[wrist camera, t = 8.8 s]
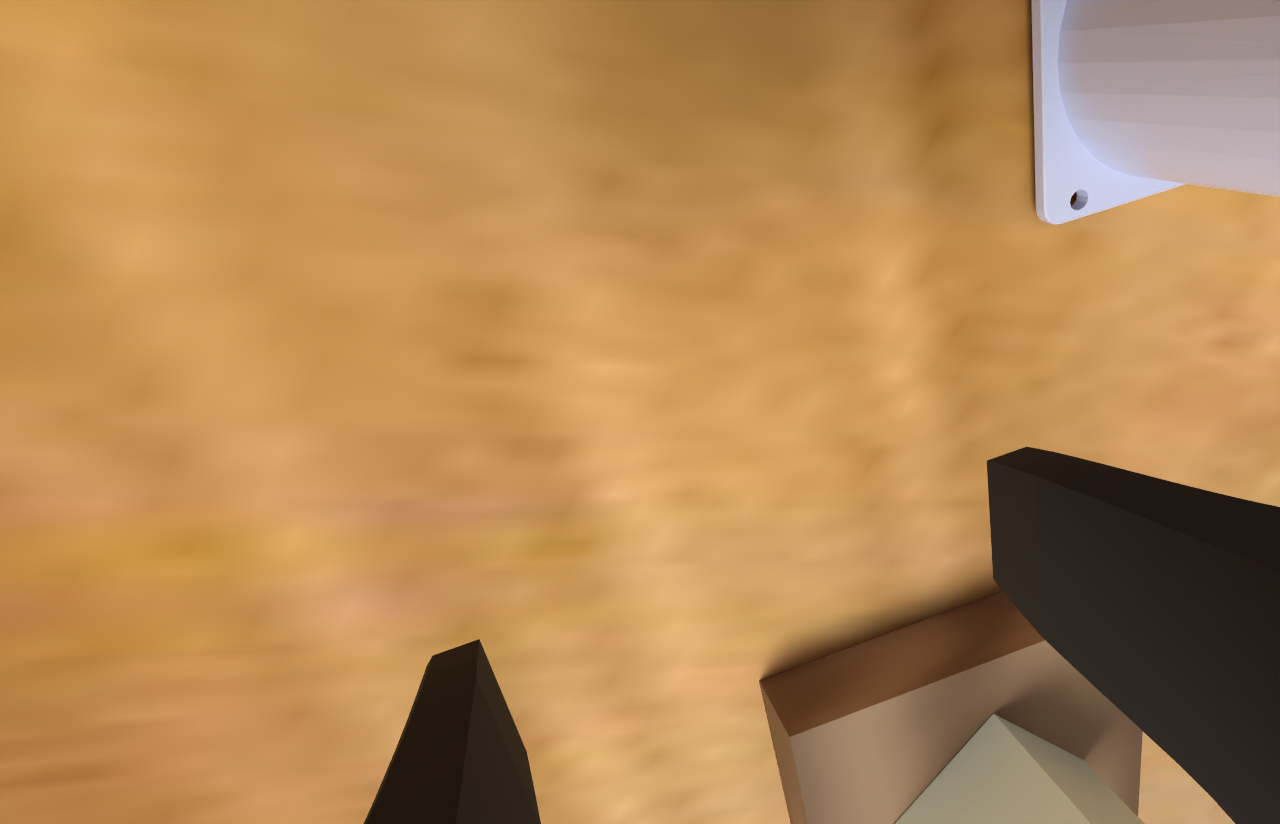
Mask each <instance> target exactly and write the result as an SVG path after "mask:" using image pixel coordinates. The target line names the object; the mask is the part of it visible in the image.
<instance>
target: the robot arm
mask: <svg viewBox="0 0 1280 824" xmlns="http://www.w3.org/2000/svg"><path fill="white" fill-rule="evenodd" d="M1032 46H1033V93H1034V139H1035V186H1036V211H1037V216H1038V217H1039V218H1040V219H1041V220H1042V221H1044V222H1047V223H1051V224H1062V223H1065V222H1068V221H1071V220H1075V219H1078V218H1081V217H1084V216H1087V215H1090V214H1094V213H1097V212H1100V211H1103V210H1106V209H1109V208H1112V207H1116V206H1119V205H1122V204H1125V203H1128V202H1131V201H1135V200H1138V199H1141V198H1144V197H1147V196H1150V195H1154V194H1157V193H1160V192H1163V191H1166V190H1169V189H1172V188H1176V187H1179V186H1182V185H1185V184H1192V185H1199V186H1206V187H1214V188H1221V189H1228V190H1235V191H1242V192H1249V193H1256V194H1263V195H1270V196H1277V197H1280V0H1032ZM1075 192H1077V198H1076V201H1075V203H1074V204H1073V205H1072V206H1071V205H1070V201H1071V197H1072V196H1073V194H1074V193H1075ZM987 472H988V490H989V508H990V526H991V544H992V562H993V579H994V580H995V581H996V582H997V584H998V585H999V586H1000V587H1001V589H1002V590H1003V591H1004V592H1005V594H1006V595H1007V596H1008V597H1009V599H1010V600H1011V601H1012V602H1013V604H1014V605H1015V606H1016V607H1017V609H1018V610H1019V611H1020V612H1021V613H1022V615H1023V616H1024V617H1025V618H1026V619H1027V620H1028V622H1029V623H1030V624H1031V625H1032V626H1033V627H1034V628H1035V630H1036V631H1037V632H1038V633H1039V634H1040V635H1041V637H1042V638H1044V639H1045V640H1046V641H1047V642H1048V643H1049V644H1050V645H1051V646H1052V647H1053V648H1054V649H1055V650H1056V651H1057V652H1058V653H1059V654H1060V655H1061V656H1062V657H1063V658H1064V659H1066V660H1067V661H1068V662H1069V663H1070V664H1071V665H1072V666H1073V667H1074V668H1075V669H1076V670H1077V671H1078V672H1079V673H1080V674H1082V675H1083V676H1084V677H1085V678H1086V679H1087V680H1088V681H1089V682H1090V683H1091V684H1092V685H1093V686H1094V687H1095V688H1097V689H1098V690H1099V691H1100V692H1101V693H1102V694H1103V695H1104V696H1105V697H1106V698H1107V699H1109V700H1110V701H1111V702H1112V703H1113V704H1114V705H1115V706H1116V707H1117V708H1118V709H1119V710H1120V711H1122V712H1123V713H1124V714H1125V715H1126V716H1127V717H1128V718H1129V719H1130V720H1131V721H1132V722H1133V723H1135V724H1136V725H1137V726H1138V727H1139V728H1140V729H1141V730H1142V731H1143V732H1144V733H1145V734H1147V735H1148V736H1149V737H1150V738H1151V739H1152V740H1153V741H1154V742H1155V743H1156V744H1157V745H1158V746H1160V747H1161V748H1162V749H1163V750H1164V751H1165V752H1166V753H1167V754H1168V755H1169V756H1170V757H1171V758H1173V759H1174V760H1175V761H1176V762H1177V763H1178V764H1179V765H1180V766H1181V767H1182V768H1183V769H1184V770H1185V771H1186V772H1187V773H1188V774H1189V775H1190V776H1191V777H1192V778H1193V779H1194V780H1195V781H1196V782H1197V783H1198V784H1199V785H1200V786H1201V787H1202V788H1203V789H1204V790H1205V791H1206V792H1207V793H1208V794H1209V795H1210V796H1211V797H1212V798H1213V799H1214V800H1215V801H1216V802H1217V804H1218V805H1219V806H1220V807H1221V808H1222V809H1223V810H1224V811H1225V812H1226V814H1227V815H1228V816H1229V817H1230V818H1231V819H1232V820H1233V821H1234V822H1235V823H1236V824H1280V507H1276V506H1272V505H1267V504H1262V503H1257V502H1253V501H1248V500H1244V499H1240V498H1235V497H1231V496H1227V495H1223V494H1218V493H1214V492H1210V491H1206V490H1202V489H1198V488H1194V487H1190V486H1186V485H1182V484H1178V483H1174V482H1170V481H1166V480H1162V479H1158V478H1154V477H1150V476H1147V475H1143V474H1139V473H1135V472H1131V471H1127V470H1123V469H1120V468H1116V467H1112V466H1108V465H1104V464H1100V463H1096V462H1093V461H1089V460H1085V459H1081V458H1076V457H1072V456H1068V455H1064V454H1060V453H1055V452H1051V451H1046V450H1041V449H1036V448H1030V447H1025V448H1022V449H1019V450H1016V451H1013V452H1010V453H1007V454H1005V455H1002V456H999V457H996V458H993V459H990V460H988V461H987ZM364 824H541V822H540V817H539V812H538V806H537V801H536V796H535V791H534V786H533V781H532V776H531V771H530V766H529V761H528V756H527V752H526V749H525V747H524V745H523V742H522V740H521V737H520V735H519V733H518V730H517V728H516V726H515V723H514V721H513V718H512V716H511V714H510V711H509V709H508V706H507V704H506V702H505V699H504V697H503V695H502V692H501V690H500V687H499V685H498V683H497V680H496V678H495V675H494V673H493V671H492V668H491V666H490V664H489V661H488V659H487V656H486V654H485V652H484V649H483V647H482V644H481V642H480V640H476V641H473V642H470V643H467V644H465V645H462V646H459V647H456V648H453V649H450V650H448V651H445V652H442V653H439V654H436V655H433V656H432V658H431V660H430V661H429V663H428V665H427V667H426V670H425V673H424V676H423V678H422V681H421V684H420V687H419V690H418V692H417V695H416V698H415V701H414V703H413V706H412V709H411V712H410V714H409V717H408V720H407V722H406V725H405V727H404V730H403V732H402V735H401V738H400V740H399V743H398V745H397V748H396V750H395V753H394V755H393V757H392V760H391V762H390V764H389V767H388V769H387V771H386V774H385V776H384V779H383V781H382V783H381V786H380V788H379V790H378V793H377V795H376V798H375V800H374V802H373V804H372V807H371V809H370V811H369V813H368V815H367V818H366V820H365V822H364Z"/></svg>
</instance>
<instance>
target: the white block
mask: <svg viewBox="0 0 1280 824" xmlns="http://www.w3.org/2000/svg"><path fill="white" fill-rule="evenodd" d="M895 824H1144V823H1143V822H1142V821H1141V820H1140V819H1139V817H1138V816H1137V815H1136V814H1135V813H1134V812H1133V811H1132V810H1131V809H1130V808H1129V807H1128V806H1127V805H1126V804H1125V803H1124V802H1123V801H1122V800H1121V799H1120V798H1119V797H1118V796H1117V794H1116V793H1115V792H1114V791H1113V790H1112V789H1111V788H1110V787H1109V786H1108V785H1107V784H1106V783H1105V782H1104V781H1103V780H1102V779H1101V778H1100V777H1099V776H1098V775H1097V774H1096V773H1095V771H1094V770H1093V769H1092V768H1091V767H1090V766H1089V765H1088V764H1087V763H1086V762H1085V761H1084V760H1082V759H1080V758H1078V757H1076V756H1075V755H1073V754H1071V753H1069V752H1067V751H1065V750H1063V749H1061V748H1059V747H1057V746H1055V745H1053V744H1051V743H1049V742H1047V741H1046V740H1044V739H1042V738H1040V737H1038V736H1036V735H1034V734H1032V733H1030V732H1028V731H1026V730H1024V729H1022V728H1020V727H1019V726H1017V725H1015V724H1013V723H1011V722H1009V721H1007V720H1005V719H1003V718H1001V717H999V716H997V715H995V714H993V715H992V716H991V717H990V718H989V719H988V720H987V721H986V722H985V724H984V725H983V726H982V727H981V728H980V729H979V730H978V731H977V732H976V734H975V735H974V736H973V737H972V738H971V739H970V740H969V741H968V743H967V744H966V745H965V746H964V747H963V748H962V749H961V750H960V751H959V753H958V754H957V755H956V756H955V757H954V758H953V759H952V760H951V762H950V763H949V764H948V765H947V766H946V767H945V768H944V769H943V770H942V772H941V773H940V774H939V775H938V776H937V777H936V778H935V779H934V781H933V782H932V783H931V784H930V785H929V786H928V787H927V788H926V789H925V791H924V792H923V793H922V794H921V795H920V796H919V797H918V798H917V800H916V801H915V802H914V803H913V804H912V805H911V806H910V807H909V808H908V810H907V811H906V812H905V813H904V814H903V815H902V816H901V817H900V819H899V820H898V821H897V822H896V823H895Z"/></svg>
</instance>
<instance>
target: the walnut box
mask: <svg viewBox="0 0 1280 824" xmlns="http://www.w3.org/2000/svg"><path fill="white" fill-rule="evenodd" d="M759 683H760V687H761V692H762V696H763V701H764V705H765V710H766V714H767V719H768V723H769V728H770V732H771V737H772V741H773V746H774V750H775V755H776V759H777V764H778V768H779V772H780V777H781V781H782V786H783V790H784V795H785V799H786V804H787V808H788V813H789V817H790V822H791V824H895V823H896V822H897V821H898V820H899V819H900V817H901V816H902V815H903V814H904V813H905V812H906V811H907V810H908V808H909V807H910V806H911V805H912V804H913V803H914V802H915V801H916V800H917V798H918V797H919V796H920V795H921V794H922V793H923V792H924V791H925V789H926V788H927V787H928V786H929V785H930V784H931V783H932V782H933V781H934V779H935V778H936V777H937V776H938V775H939V774H940V773H941V772H942V770H943V769H944V768H945V767H946V766H947V765H948V764H949V763H950V762H951V760H952V759H953V758H954V757H955V756H956V755H957V754H958V753H959V751H960V750H961V749H962V748H963V747H964V746H965V745H966V744H967V743H968V741H969V740H970V739H971V738H972V737H973V736H974V735H975V734H976V732H977V731H978V730H979V729H980V728H981V727H982V726H983V725H984V724H985V722H986V721H987V720H988V719H989V718H990V717H991V716H992V715H993V714H995V715H997V716H999V717H1001V718H1003V719H1005V720H1007V721H1009V722H1011V723H1013V724H1015V725H1017V726H1019V727H1020V728H1022V729H1024V730H1026V731H1028V732H1030V733H1032V734H1034V735H1036V736H1038V737H1040V738H1042V739H1044V740H1046V741H1047V742H1049V743H1051V744H1053V745H1055V746H1057V747H1059V748H1061V749H1063V750H1065V751H1067V752H1069V753H1071V754H1073V755H1075V756H1076V757H1078V758H1080V759H1082V760H1084V761H1085V762H1086V763H1087V764H1088V765H1089V766H1090V767H1091V768H1092V769H1093V770H1094V771H1095V773H1096V774H1097V775H1098V776H1099V777H1100V778H1101V779H1102V780H1103V781H1104V782H1105V783H1106V784H1107V785H1108V786H1109V787H1110V788H1111V789H1112V790H1113V791H1114V792H1115V793H1116V794H1117V796H1118V797H1119V798H1120V799H1121V800H1122V801H1123V802H1124V803H1125V804H1126V805H1127V806H1128V807H1129V808H1130V809H1131V810H1132V811H1133V812H1134V813H1135V814H1136V815H1137V816H1138V804H1139V786H1140V767H1141V749H1142V730H1141V729H1140V728H1139V727H1138V726H1137V725H1136V724H1135V723H1133V722H1132V721H1131V720H1130V719H1129V718H1128V717H1127V716H1126V715H1125V714H1124V713H1123V712H1122V711H1120V710H1119V709H1118V708H1117V707H1116V706H1115V705H1114V704H1113V703H1112V702H1111V701H1110V700H1109V699H1107V698H1106V697H1105V696H1104V695H1103V694H1102V693H1101V692H1100V691H1099V690H1098V689H1097V688H1095V687H1094V686H1093V685H1092V684H1091V683H1090V682H1089V681H1088V680H1087V679H1086V678H1085V677H1084V676H1083V675H1082V674H1080V673H1079V672H1078V671H1077V670H1076V669H1075V668H1074V667H1073V666H1072V665H1071V664H1070V663H1069V662H1068V661H1067V660H1066V659H1064V658H1063V657H1062V656H1061V655H1060V654H1059V653H1058V652H1057V651H1056V650H1055V649H1054V648H1053V647H1052V646H1051V645H1050V644H1049V643H1048V642H1047V641H1046V640H1045V639H1044V638H1042V637H1041V635H1040V634H1039V633H1038V632H1037V631H1036V630H1035V628H1034V627H1033V626H1032V625H1031V624H1030V623H1029V622H1028V620H1027V619H1026V618H1025V617H1024V616H1023V615H1022V613H1021V612H1020V611H1019V610H1018V609H1017V607H1016V606H1015V605H1014V604H1013V602H1012V601H1011V600H1010V599H1009V597H1008V596H1007V595H1006V594H1005V592H1004V591H1001V592H998V593H995V594H993V595H990V596H987V597H985V598H982V599H979V600H976V601H974V602H971V603H968V604H966V605H963V606H960V607H958V608H955V609H952V610H949V611H947V612H944V613H941V614H939V615H936V616H933V617H930V618H928V619H925V620H922V621H920V622H917V623H914V624H912V625H909V626H906V627H903V628H901V629H898V630H895V631H893V632H890V633H887V634H885V635H882V636H879V637H876V638H874V639H871V640H868V641H866V642H863V643H860V644H857V645H855V646H852V647H849V648H847V649H844V650H841V651H839V652H836V653H833V654H830V655H828V656H825V657H822V658H820V659H817V660H814V661H812V662H809V663H806V664H803V665H801V666H798V667H795V668H793V669H790V670H787V671H784V672H782V673H779V674H776V675H774V676H771V677H768V678H766V679H763V680H760V681H759Z"/></svg>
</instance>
